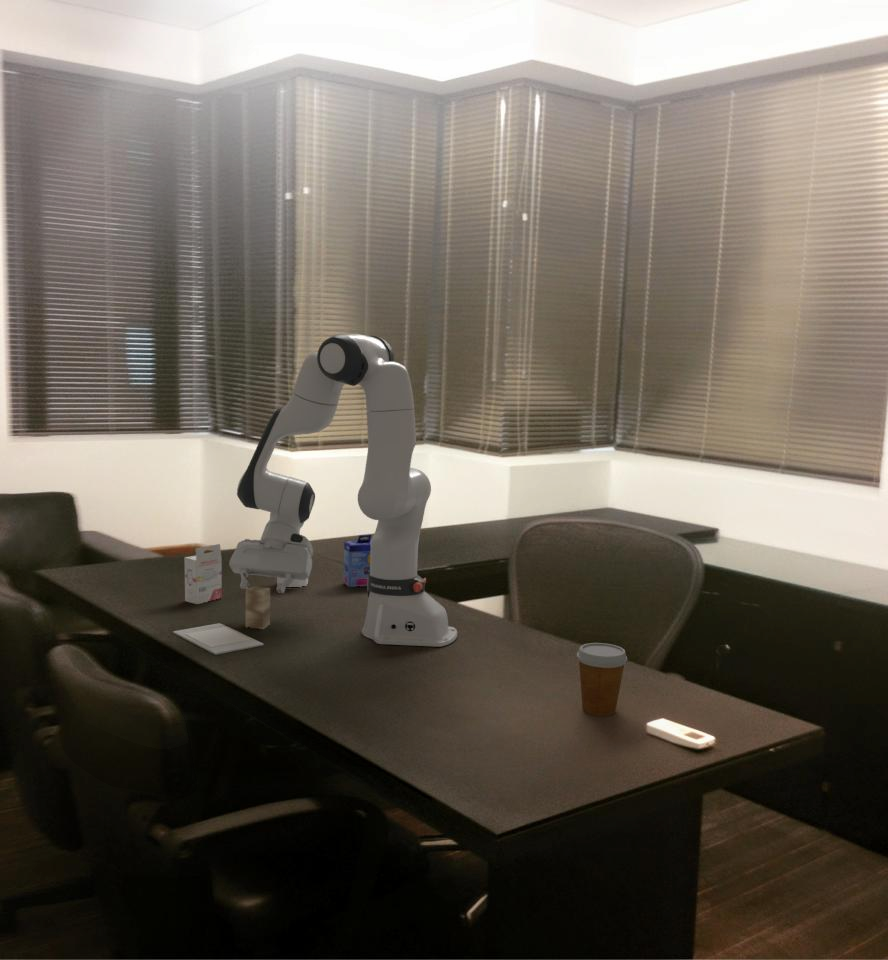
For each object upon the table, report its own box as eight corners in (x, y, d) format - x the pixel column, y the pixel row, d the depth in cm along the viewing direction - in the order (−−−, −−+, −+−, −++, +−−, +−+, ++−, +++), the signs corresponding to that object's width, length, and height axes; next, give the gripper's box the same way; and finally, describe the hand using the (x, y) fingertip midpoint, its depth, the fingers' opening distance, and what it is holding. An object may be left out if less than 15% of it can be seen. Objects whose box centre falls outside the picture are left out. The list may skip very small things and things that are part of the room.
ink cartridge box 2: (348, 588, 283) (349, 536, 281) (342, 583, 288) (343, 533, 286) (381, 585, 288) (383, 534, 286) (374, 580, 292) (376, 531, 290)
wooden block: (269, 624, 245) (270, 588, 244) (263, 629, 241) (263, 592, 240) (252, 622, 246) (252, 586, 245) (245, 627, 243) (245, 590, 241)
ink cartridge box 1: (209, 595, 271) (209, 540, 269) (222, 598, 268) (222, 543, 266) (183, 601, 264) (183, 545, 262) (196, 604, 261) (196, 548, 259)
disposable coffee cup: (590, 697, 202) (593, 639, 200) (633, 710, 196) (636, 649, 194) (564, 710, 195) (567, 649, 193) (607, 723, 189) (611, 660, 187)
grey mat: (173, 633, 236) (173, 630, 236) (219, 624, 244) (219, 622, 244) (215, 654, 221) (215, 652, 221) (263, 645, 229) (263, 642, 229)
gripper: (236, 531, 253) (217, 578, 245) (313, 538, 248) (297, 586, 240) (243, 545, 258) (225, 592, 250) (319, 552, 253) (304, 600, 245)
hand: (261, 589), depth 245 cm, fingers open, 8 cm apart
